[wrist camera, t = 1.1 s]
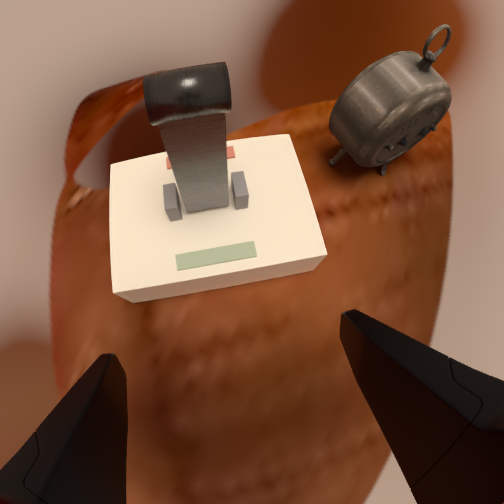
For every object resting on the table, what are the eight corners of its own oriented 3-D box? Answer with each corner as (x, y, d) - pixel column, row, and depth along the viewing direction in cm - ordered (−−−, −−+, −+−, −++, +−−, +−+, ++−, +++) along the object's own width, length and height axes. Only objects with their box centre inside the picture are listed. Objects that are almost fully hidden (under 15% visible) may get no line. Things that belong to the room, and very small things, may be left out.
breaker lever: (233, 209, 19) (231, 83, 9) (184, 218, 19) (142, 98, 9) (227, 181, 20) (222, 52, 10) (180, 189, 20) (144, 65, 10)
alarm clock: (387, 124, 29) (449, 9, 13) (418, 161, 27) (501, 52, 12) (310, 156, 26) (363, -2, 11) (346, 202, 25) (438, 53, 10)
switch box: (312, 270, 23) (335, 245, 17) (132, 303, 22) (101, 286, 16) (282, 162, 26) (292, 118, 20) (126, 189, 25) (103, 151, 19)
